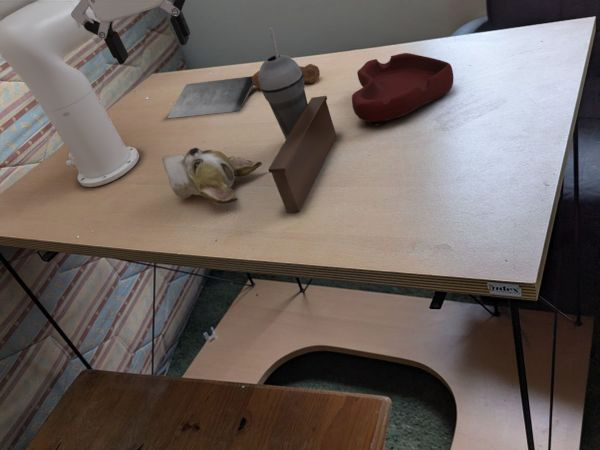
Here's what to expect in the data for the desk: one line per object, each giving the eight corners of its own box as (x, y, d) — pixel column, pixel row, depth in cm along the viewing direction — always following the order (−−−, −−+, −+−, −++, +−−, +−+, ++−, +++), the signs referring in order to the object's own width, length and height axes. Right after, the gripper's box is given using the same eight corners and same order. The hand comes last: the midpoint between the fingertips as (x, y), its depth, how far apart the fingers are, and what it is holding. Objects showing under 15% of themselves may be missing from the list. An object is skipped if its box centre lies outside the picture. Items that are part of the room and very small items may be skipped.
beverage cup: (289, 133, 99) (251, 24, 87) (327, 129, 96) (293, 15, 84) (276, 156, 94) (233, 43, 82) (316, 152, 91) (277, 35, 79)
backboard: (285, 212, 80) (267, 169, 75) (324, 137, 94) (311, 97, 89) (301, 212, 79) (284, 168, 74) (338, 136, 93) (326, 95, 88)
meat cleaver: (166, 118, 122) (158, 102, 120) (191, 93, 130) (184, 77, 127) (304, 105, 107) (298, 86, 105) (323, 77, 115) (318, 59, 112)
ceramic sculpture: (175, 130, 92) (253, 129, 86) (193, 173, 97) (268, 174, 91) (139, 168, 85) (222, 170, 79) (162, 212, 90) (240, 216, 84)
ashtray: (457, 116, 86) (453, 87, 83) (355, 134, 91) (348, 107, 88) (453, 67, 100) (449, 41, 97) (364, 85, 105) (358, 61, 102)
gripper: (163, -103, 72) (213, 25, 82) (46, -60, 75) (108, 58, 85) (151, -94, 66) (206, 43, 76) (24, -48, 69) (93, 78, 79)
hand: (154, 51), depth 81 cm, fingers open, 9 cm apart
